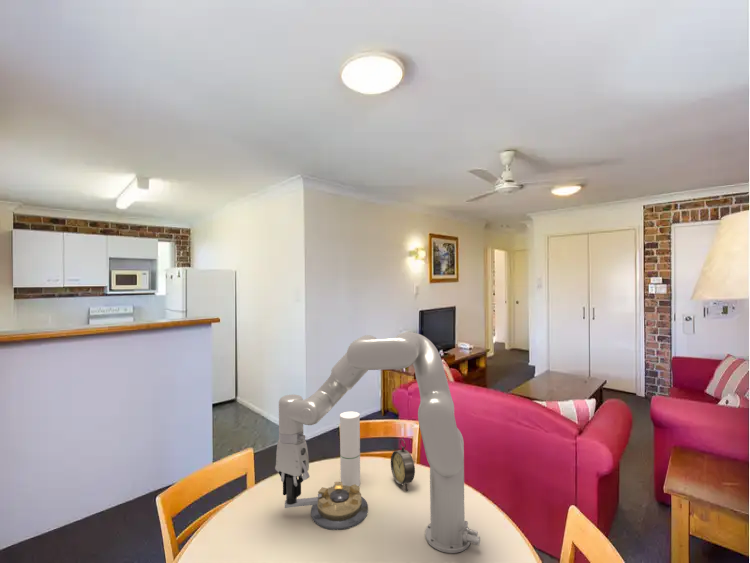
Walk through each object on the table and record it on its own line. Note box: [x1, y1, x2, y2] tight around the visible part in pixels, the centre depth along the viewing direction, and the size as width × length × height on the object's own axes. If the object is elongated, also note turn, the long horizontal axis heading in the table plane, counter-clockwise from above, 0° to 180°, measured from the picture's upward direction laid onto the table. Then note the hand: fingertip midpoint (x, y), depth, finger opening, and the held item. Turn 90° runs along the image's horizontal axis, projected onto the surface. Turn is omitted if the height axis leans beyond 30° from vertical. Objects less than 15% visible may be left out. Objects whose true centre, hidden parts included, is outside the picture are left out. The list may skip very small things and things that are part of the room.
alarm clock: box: [390, 438, 416, 492], centre depth 131 cm, size 11×5×16 cm, turn 25°
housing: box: [310, 496, 369, 531], centre depth 116 cm, size 18×18×1 cm
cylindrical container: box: [339, 410, 361, 487], centre depth 132 cm, size 7×7×25 cm
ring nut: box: [284, 474, 363, 520], centre depth 115 cm, size 24×14×11 cm, turn 99°
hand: (292, 494), depth 114 cm, fingers closed on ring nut, 3 cm apart
